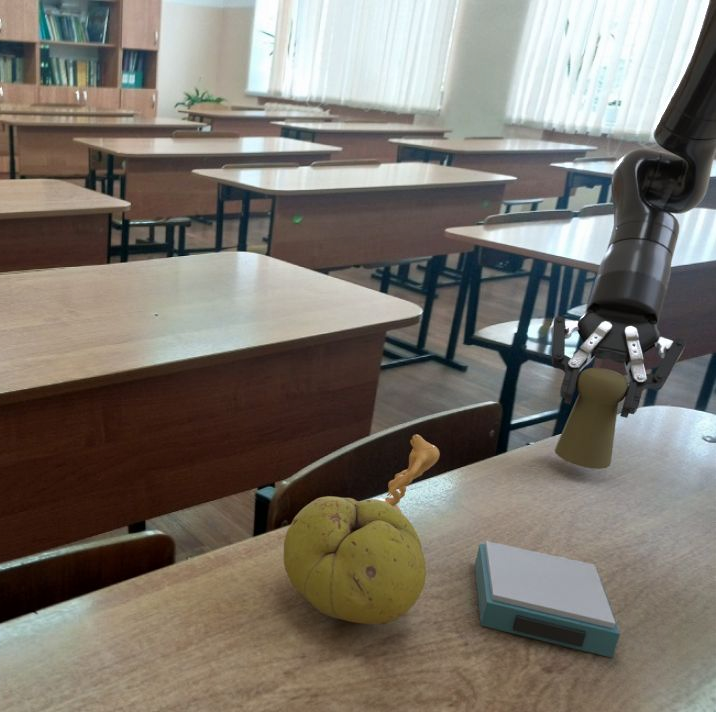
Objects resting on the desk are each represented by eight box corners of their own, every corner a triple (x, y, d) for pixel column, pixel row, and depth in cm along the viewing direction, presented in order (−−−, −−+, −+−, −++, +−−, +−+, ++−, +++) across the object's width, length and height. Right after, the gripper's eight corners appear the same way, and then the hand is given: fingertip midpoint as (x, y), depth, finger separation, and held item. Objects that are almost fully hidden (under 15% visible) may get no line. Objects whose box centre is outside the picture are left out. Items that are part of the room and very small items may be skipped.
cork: (564, 439, 92) (586, 358, 88) (617, 457, 88) (642, 373, 84) (546, 454, 88) (568, 370, 84) (601, 474, 84) (627, 386, 80)
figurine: (375, 511, 78) (394, 409, 74) (431, 532, 75) (454, 427, 70) (344, 546, 72) (362, 437, 67) (404, 572, 68) (428, 459, 64)
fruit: (348, 553, 71) (364, 462, 67) (445, 631, 61) (469, 530, 58) (255, 585, 65) (266, 488, 62) (345, 676, 56) (364, 568, 52)
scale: (589, 590, 67) (598, 562, 66) (613, 661, 59) (623, 630, 58) (474, 564, 70) (481, 537, 69) (481, 628, 62) (488, 598, 61)
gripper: (567, 258, 90) (529, 377, 85) (708, 279, 82) (676, 411, 77) (562, 291, 96) (527, 404, 91) (693, 314, 89) (662, 438, 83)
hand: (596, 407), depth 84 cm, fingers closed on cork, 5 cm apart
